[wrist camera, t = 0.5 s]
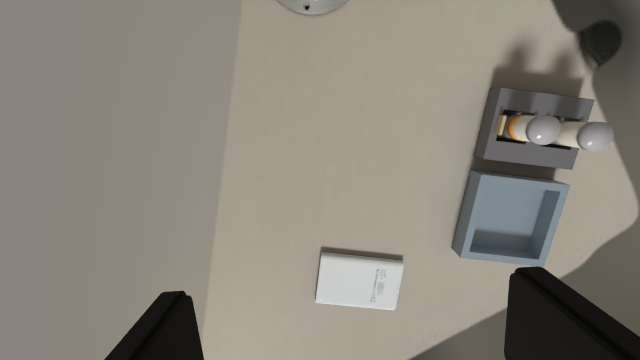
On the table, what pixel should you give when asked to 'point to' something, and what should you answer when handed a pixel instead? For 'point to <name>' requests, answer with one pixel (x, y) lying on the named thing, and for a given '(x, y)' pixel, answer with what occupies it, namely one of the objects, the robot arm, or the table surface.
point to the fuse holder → (533, 106)
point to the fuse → (585, 135)
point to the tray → (508, 218)
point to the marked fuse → (531, 128)
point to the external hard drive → (358, 281)
